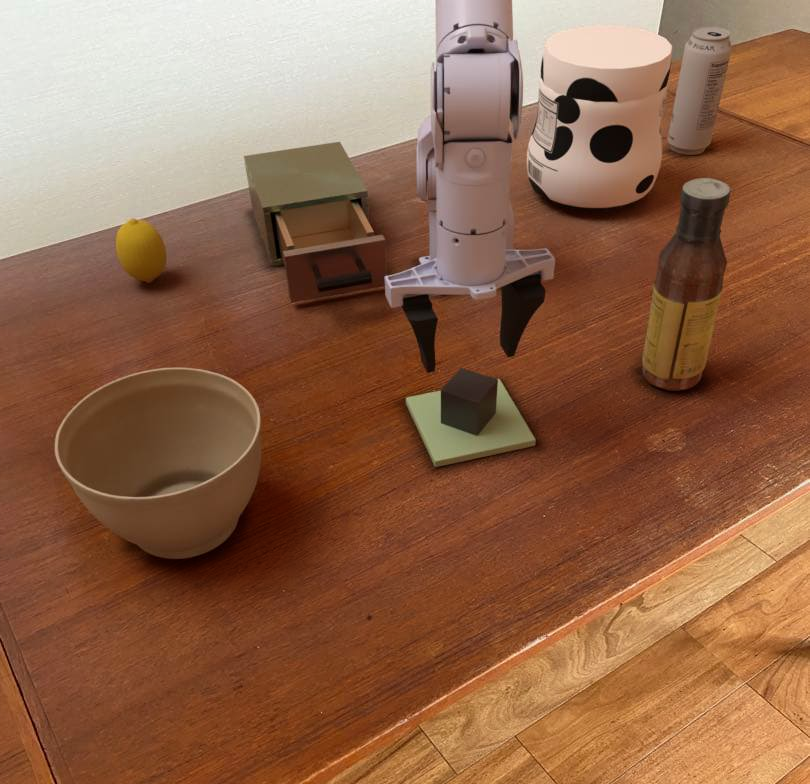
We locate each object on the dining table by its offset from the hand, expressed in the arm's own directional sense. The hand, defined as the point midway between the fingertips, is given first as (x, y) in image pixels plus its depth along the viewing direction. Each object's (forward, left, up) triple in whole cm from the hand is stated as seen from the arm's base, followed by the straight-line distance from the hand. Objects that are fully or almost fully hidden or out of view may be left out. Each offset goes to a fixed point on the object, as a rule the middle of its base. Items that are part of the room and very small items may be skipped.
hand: (467, 358), depth 79 cm
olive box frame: (+7, -43, -8) cm, 44 cm away
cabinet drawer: (+7, -30, -7) cm, 31 cm away
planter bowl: (+28, +5, -8) cm, 29 cm away
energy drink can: (-50, -49, -8) cm, 70 cm away
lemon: (+28, -37, -8) cm, 47 cm away
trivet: (0, 0, -8) cm, 8 cm away
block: (0, 0, -7) cm, 7 cm away
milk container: (-31, -41, -8) cm, 52 cm away
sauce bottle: (-22, -1, -8) cm, 23 cm away
